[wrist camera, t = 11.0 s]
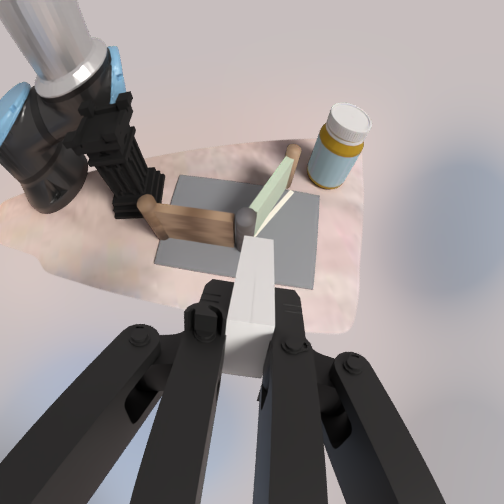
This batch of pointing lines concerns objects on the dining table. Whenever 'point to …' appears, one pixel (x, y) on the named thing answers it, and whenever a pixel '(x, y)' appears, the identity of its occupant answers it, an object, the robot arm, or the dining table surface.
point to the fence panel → (276, 185)
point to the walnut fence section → (197, 223)
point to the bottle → (338, 145)
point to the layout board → (274, 227)
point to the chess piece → (116, 154)
